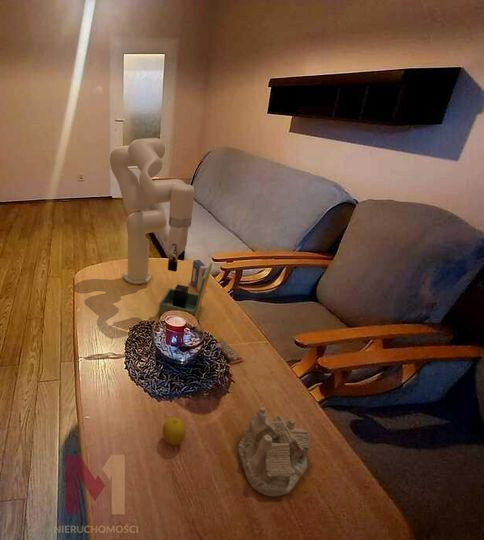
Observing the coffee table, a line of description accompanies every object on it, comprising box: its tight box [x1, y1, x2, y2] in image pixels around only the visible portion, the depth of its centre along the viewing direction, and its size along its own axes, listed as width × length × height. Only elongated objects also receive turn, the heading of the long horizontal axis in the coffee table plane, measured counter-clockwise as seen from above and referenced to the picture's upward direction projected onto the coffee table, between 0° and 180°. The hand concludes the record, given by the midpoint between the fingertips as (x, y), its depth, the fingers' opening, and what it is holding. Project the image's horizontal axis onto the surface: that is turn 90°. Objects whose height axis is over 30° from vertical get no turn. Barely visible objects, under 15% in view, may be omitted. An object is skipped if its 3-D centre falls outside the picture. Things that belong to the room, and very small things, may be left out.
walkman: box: [190, 259, 208, 292], centre depth 150 cm, size 8×3×12 cm, turn 11°
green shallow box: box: [158, 287, 203, 319], centre depth 136 cm, size 14×13×6 cm
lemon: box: [162, 416, 186, 446], centre depth 86 cm, size 6×6×8 cm
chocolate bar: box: [215, 341, 244, 365], centre depth 116 cm, size 11×5×1 cm, turn 20°
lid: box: [195, 262, 213, 311], centre depth 128 cm, size 14×13×1 cm
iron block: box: [173, 284, 190, 309], centre depth 135 cm, size 4×4×10 cm
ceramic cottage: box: [237, 406, 311, 497], centre depth 79 cm, size 16×16×15 cm
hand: (176, 265), depth 128 cm, fingers open, 9 cm apart
